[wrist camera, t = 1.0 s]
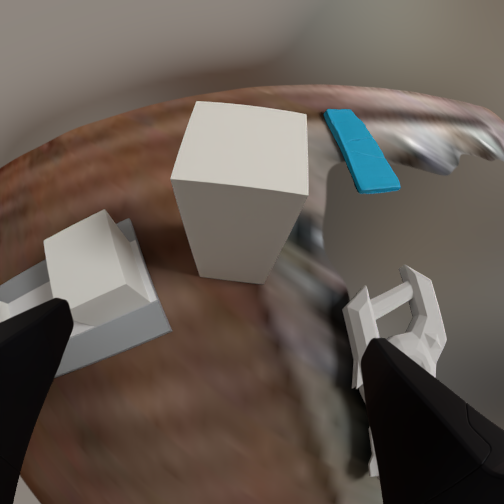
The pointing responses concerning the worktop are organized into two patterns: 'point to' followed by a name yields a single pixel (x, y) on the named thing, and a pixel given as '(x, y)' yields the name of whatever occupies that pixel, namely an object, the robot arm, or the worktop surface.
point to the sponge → (361, 153)
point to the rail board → (100, 336)
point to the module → (240, 187)
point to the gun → (411, 342)
